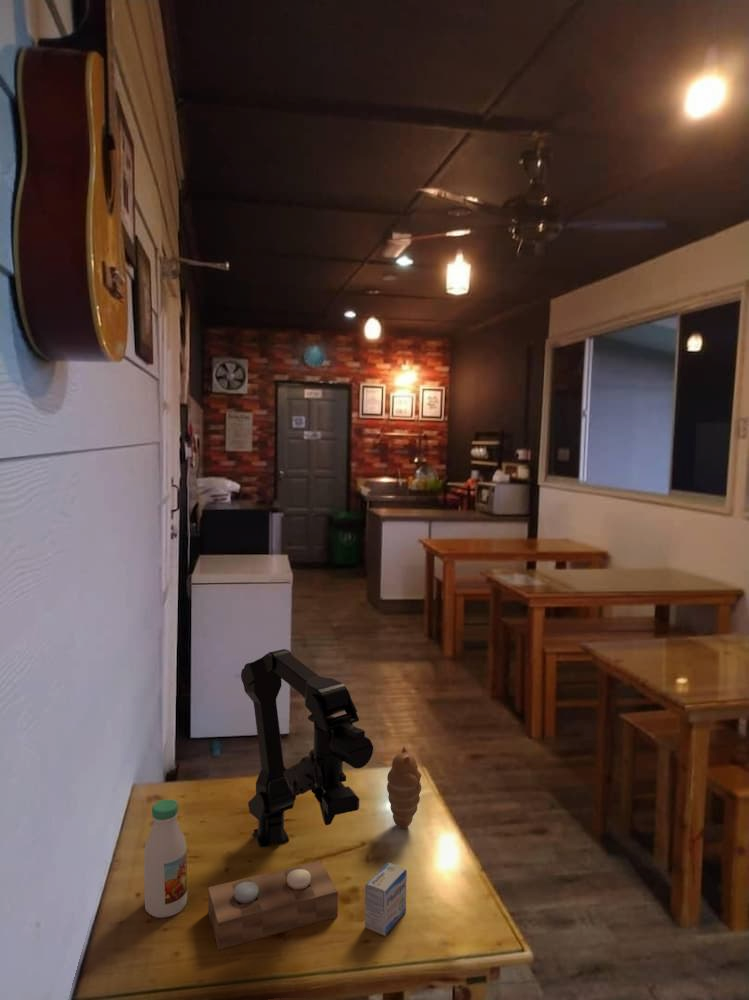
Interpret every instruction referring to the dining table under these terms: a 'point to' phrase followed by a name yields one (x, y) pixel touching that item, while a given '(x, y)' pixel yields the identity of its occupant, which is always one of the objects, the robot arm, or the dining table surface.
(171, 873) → the milk bottle
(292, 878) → the cream peg
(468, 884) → the dining table surface
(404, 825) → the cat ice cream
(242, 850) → the dining table surface
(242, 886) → the grey peg
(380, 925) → the medicine box
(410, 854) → the dining table surface
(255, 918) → the walnut block
